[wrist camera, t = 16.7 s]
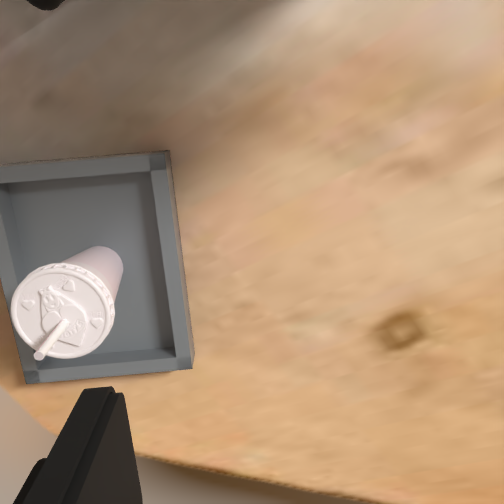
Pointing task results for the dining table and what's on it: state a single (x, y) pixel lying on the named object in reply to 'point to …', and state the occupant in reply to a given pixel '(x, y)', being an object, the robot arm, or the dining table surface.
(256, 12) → the dining table surface
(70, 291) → the smoothie
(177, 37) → the dining table surface
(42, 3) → the coffeepot
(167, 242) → the tray
